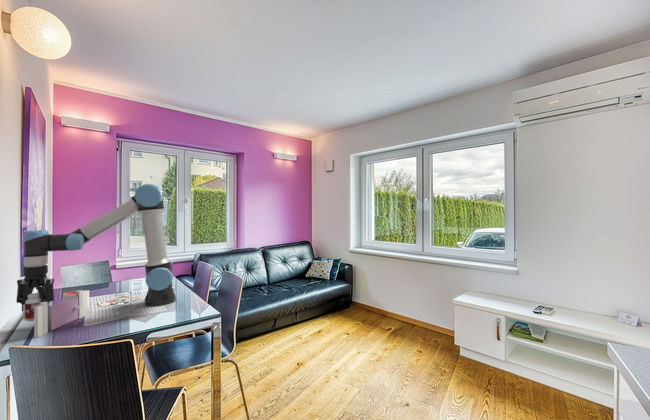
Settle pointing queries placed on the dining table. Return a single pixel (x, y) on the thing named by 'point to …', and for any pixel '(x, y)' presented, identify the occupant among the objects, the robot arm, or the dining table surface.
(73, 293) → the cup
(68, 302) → the door
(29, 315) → the pill bottle
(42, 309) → the wall
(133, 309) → the dining table surface
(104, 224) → the robot arm
